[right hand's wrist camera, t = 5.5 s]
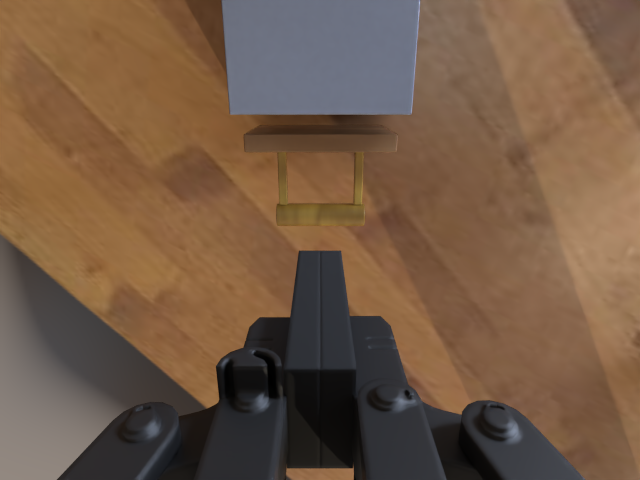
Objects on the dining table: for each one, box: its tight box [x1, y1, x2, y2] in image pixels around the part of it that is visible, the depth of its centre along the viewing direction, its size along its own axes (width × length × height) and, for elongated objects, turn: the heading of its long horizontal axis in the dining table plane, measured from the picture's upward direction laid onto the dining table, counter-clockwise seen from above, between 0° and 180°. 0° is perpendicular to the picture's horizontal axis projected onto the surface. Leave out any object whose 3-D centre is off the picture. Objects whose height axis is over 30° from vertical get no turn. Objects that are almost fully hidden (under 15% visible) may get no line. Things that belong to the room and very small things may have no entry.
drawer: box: [244, 125, 398, 226], centre depth 28 cm, size 26×10×8 cm, turn 0°
